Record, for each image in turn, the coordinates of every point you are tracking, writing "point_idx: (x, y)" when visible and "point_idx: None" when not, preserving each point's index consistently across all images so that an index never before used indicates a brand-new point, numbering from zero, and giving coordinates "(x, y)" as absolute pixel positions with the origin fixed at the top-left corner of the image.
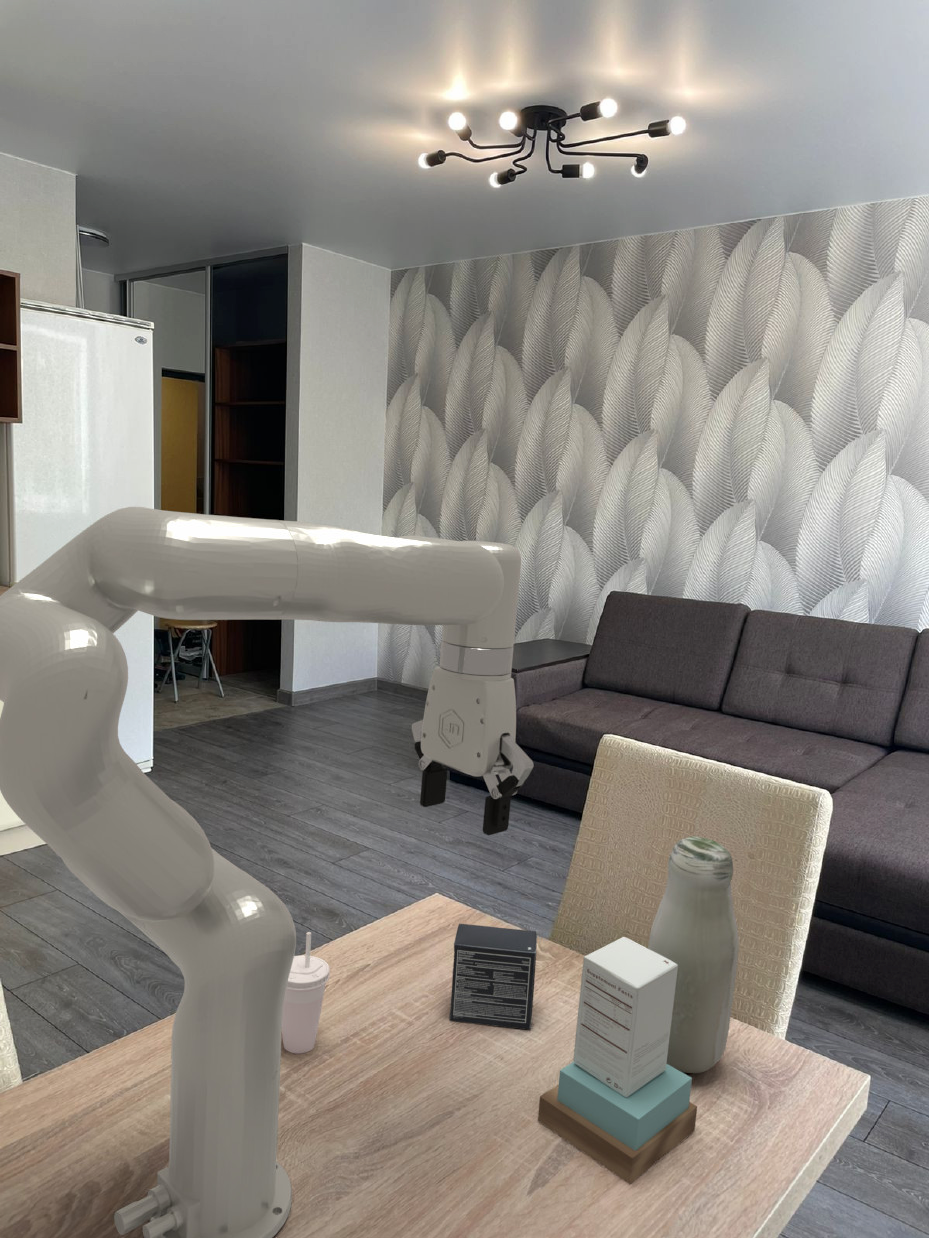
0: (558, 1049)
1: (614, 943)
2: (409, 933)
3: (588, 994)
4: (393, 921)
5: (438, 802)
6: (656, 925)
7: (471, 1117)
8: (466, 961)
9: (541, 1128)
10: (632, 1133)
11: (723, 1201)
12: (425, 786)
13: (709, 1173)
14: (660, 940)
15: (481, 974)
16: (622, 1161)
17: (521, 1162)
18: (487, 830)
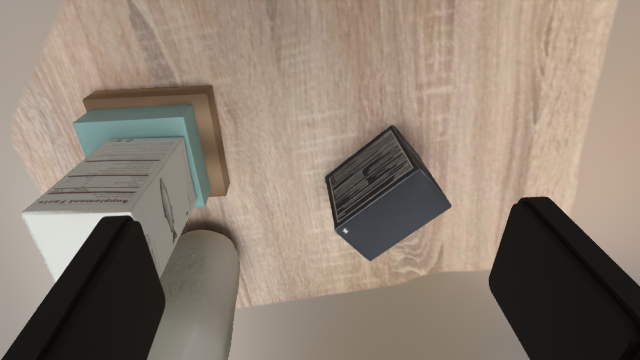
0: (285, 177)
1: None
2: (538, 195)
3: (135, 182)
4: (569, 197)
5: (497, 262)
6: (192, 339)
7: (253, 30)
8: (398, 168)
9: (200, 79)
10: (88, 115)
11: (43, 140)
12: (583, 265)
13: (77, 157)
14: (180, 324)
15: (378, 172)
16: (98, 95)
17: (169, 24)
18: (97, 228)
